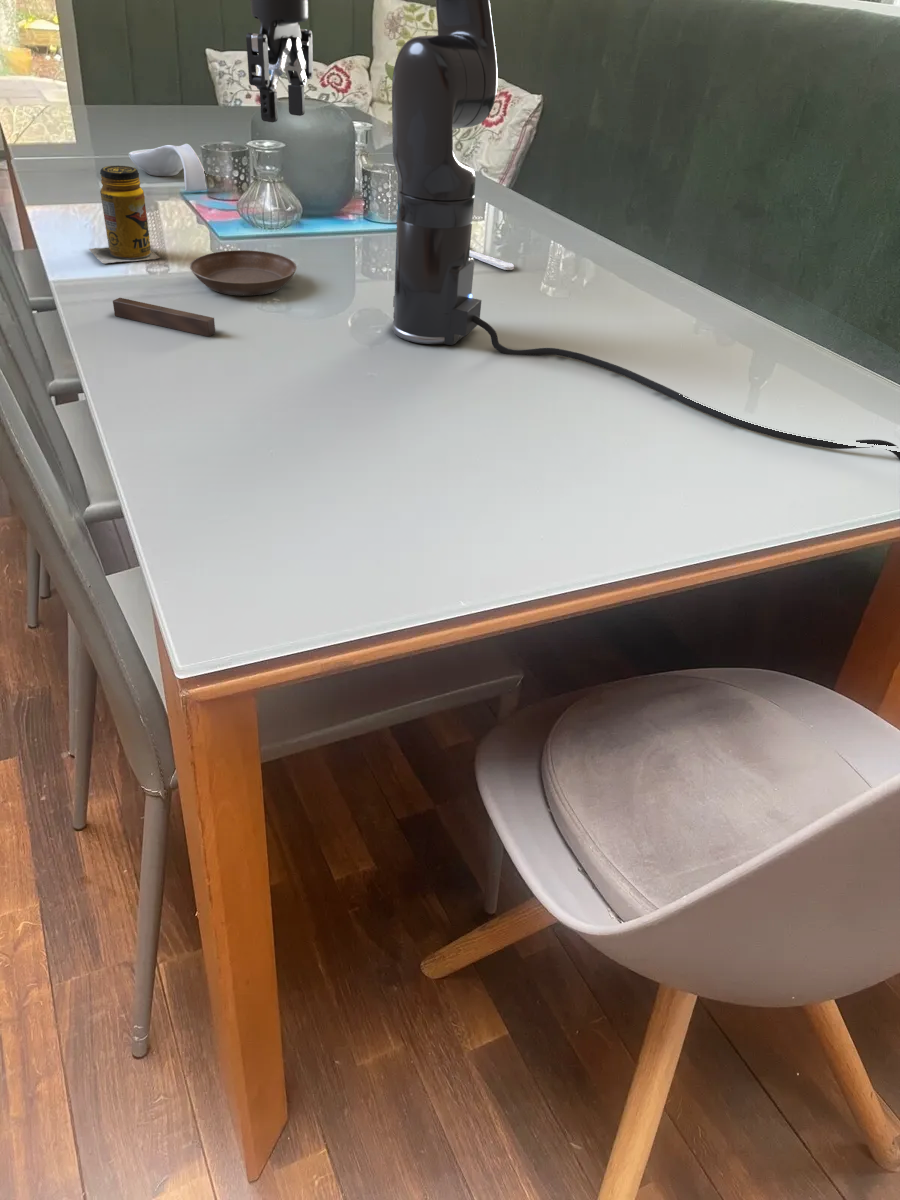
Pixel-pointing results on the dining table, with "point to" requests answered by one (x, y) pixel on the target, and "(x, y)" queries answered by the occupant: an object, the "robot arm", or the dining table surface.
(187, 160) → the spoon rest
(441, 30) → the robot arm
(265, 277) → the saucer
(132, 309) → the rail
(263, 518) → the dining table surface
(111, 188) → the condiment
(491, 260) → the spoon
